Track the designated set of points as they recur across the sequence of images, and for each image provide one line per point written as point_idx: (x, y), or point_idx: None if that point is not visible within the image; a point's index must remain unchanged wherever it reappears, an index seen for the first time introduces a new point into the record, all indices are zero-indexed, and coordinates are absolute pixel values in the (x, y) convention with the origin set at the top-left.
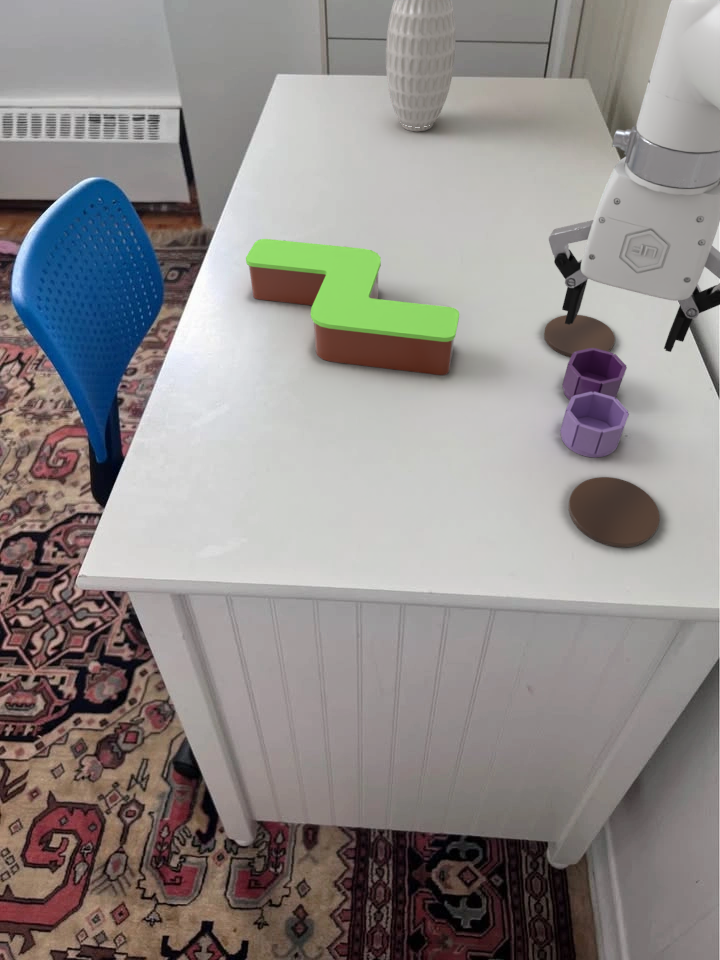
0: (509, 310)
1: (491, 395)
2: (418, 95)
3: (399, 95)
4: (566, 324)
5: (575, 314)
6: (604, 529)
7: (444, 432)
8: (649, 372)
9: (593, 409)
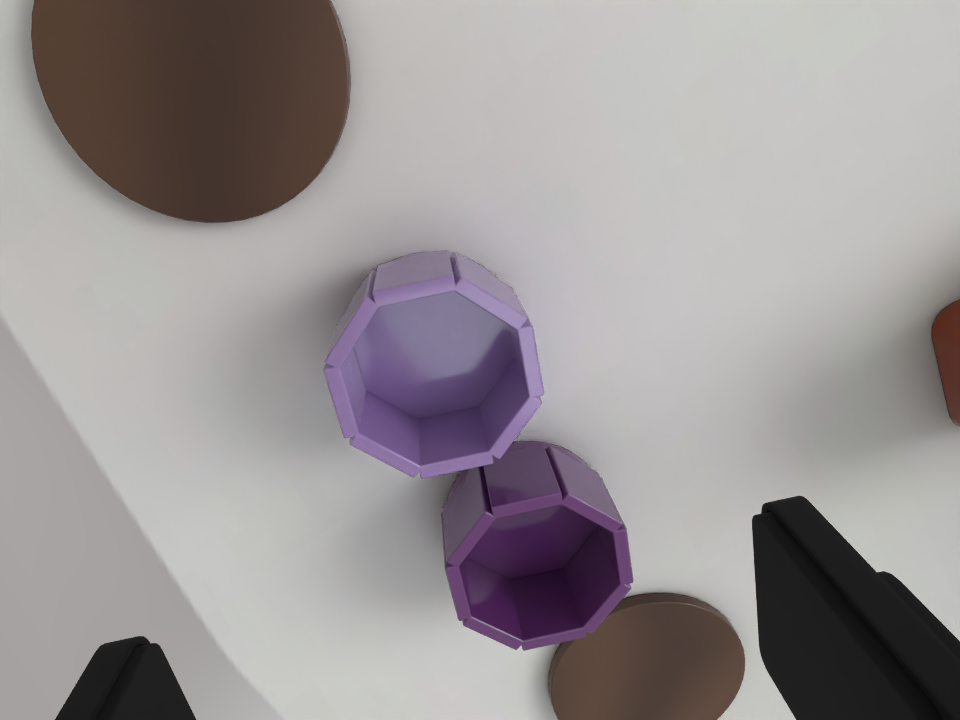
0: None
1: (770, 321)
2: None
3: None
4: (697, 694)
5: (780, 581)
6: None
7: (842, 63)
8: (421, 666)
9: (468, 424)
